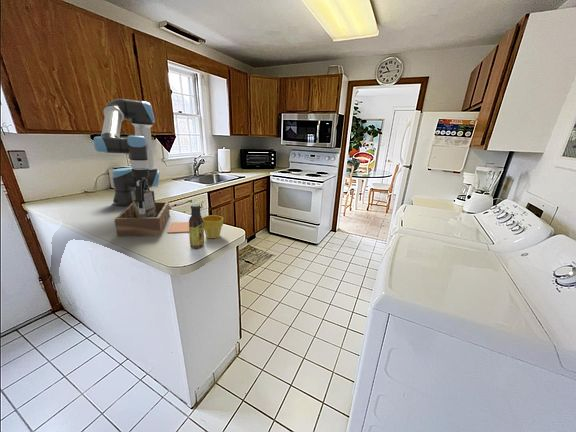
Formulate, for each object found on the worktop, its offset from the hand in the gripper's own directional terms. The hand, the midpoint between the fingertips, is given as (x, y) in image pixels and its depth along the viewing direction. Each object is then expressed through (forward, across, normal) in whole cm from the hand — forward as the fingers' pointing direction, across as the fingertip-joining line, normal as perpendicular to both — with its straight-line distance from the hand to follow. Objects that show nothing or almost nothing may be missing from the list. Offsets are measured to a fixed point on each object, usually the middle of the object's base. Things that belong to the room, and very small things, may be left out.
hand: (145, 210), depth 125 cm
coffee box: (+6, 0, 0) cm, 6 cm away
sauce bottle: (+8, +29, +27) cm, 41 cm away
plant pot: (+8, +18, +34) cm, 40 cm away
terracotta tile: (+8, +5, +19) cm, 21 cm away
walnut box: (+8, 0, 0) cm, 8 cm away
